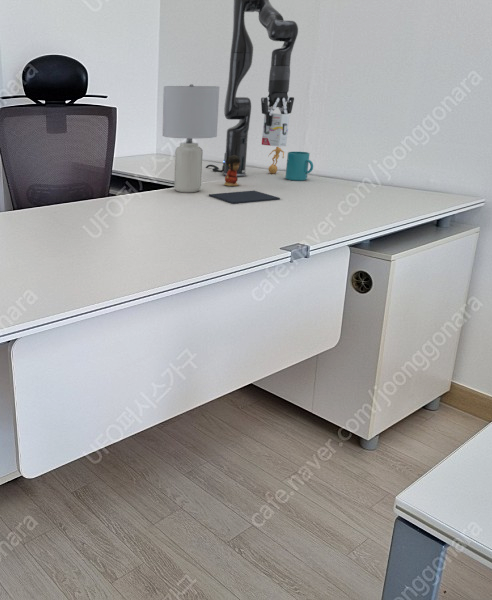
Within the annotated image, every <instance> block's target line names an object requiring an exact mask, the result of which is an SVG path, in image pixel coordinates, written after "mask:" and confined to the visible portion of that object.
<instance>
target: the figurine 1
mask: <svg viewBox="0 0 492 600" xmlns="http://www.w3.org/2000/svg"><path fill="white" fill-rule="evenodd" d="M240 163H241V161H240V159H239V157H238V156H235V155H233V156H229V157H227V160H226V164H227V165H228V166H229V167H230V169H229V171H228V172H227V175H225V177H224V181H225V182H224V186H227V187H239V183H238V179H239V178H238V177H237V171H236V170H238V168H239V165H240Z"/></svg>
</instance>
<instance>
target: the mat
mask: <svg viewBox="0 0 492 600" xmlns="http://www.w3.org/2000/svg"><path fill="white" fill-rule="evenodd" d="M208 197H211V198H214V199H217V200H221V201H224V202H225V203H229V204H231V205H232V204H233V205H235V204H247V203H257V202H269V201H277V200H280V199H281V197H278V196H274V195H271V194H267V193H264V192H261V191H257V190H244V191H243V190H242V191H232V192H221V193H209V194H208Z"/></svg>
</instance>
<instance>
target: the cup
mask: <svg viewBox="0 0 492 600" xmlns="http://www.w3.org/2000/svg"><path fill="white" fill-rule="evenodd" d="M310 153H311V152H309V151H288V152H287V157H286V167H285V175H284V176H285V179H286V180H288V181H298V182H300V181H302V182H303V181H306V180H307V179H308V175H309V174H310V173H311V172H312V171H313V170H314V163H313V161H312V160H311V159H310V155H311V154H310ZM309 165H310V167H309Z"/></svg>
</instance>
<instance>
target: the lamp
mask: <svg viewBox="0 0 492 600" xmlns="http://www.w3.org/2000/svg"><path fill="white" fill-rule="evenodd" d="M162 92H163V94H162V97H163V98H162V99H163V100H162V137H164V138H170V139H186V140H185V142H180V143H179V146H177V147H176V148H175V151H174V178H173V179H174V181H173V186H174V190H175V191H177V192H179V193H197V192H199V191H200V190H201V188H202V177H203V176H202V175H203V174H202V173H203V155H204V152H203V149H202V148H201V146H199V143H198V142H193V139H212V138H213V139H214V138H217V136H218V122H219V121H218V119H219V103H220V102H219V101H220V86H218V85H217V86H215V85H214V86H213V85H212V86H211V85H194V84H192V83H191V84H189V85H163V91H162Z"/></svg>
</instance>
